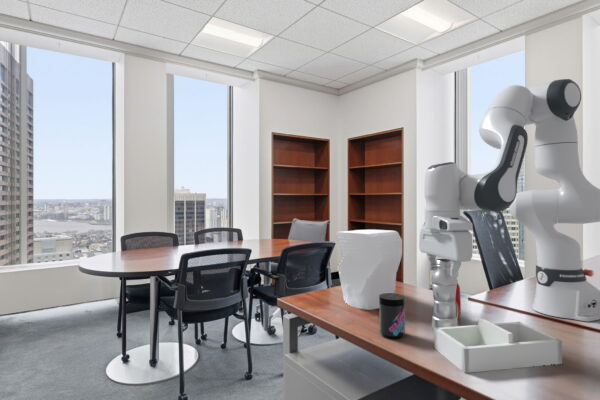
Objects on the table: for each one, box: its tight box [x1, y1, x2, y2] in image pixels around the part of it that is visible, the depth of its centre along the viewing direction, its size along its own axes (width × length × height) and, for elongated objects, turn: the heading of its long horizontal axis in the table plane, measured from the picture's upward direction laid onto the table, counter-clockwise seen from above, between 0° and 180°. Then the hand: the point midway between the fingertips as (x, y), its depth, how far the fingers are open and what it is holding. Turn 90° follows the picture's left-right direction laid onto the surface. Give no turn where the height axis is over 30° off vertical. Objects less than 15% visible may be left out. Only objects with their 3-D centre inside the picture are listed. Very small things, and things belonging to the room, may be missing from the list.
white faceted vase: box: [334, 229, 403, 311], centre depth 120 cm, size 21×27×26 cm
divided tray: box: [433, 317, 563, 374], centre depth 78 cm, size 23×12×7 cm, turn 98°
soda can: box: [455, 280, 462, 322], centre depth 103 cm, size 7×7×12 cm
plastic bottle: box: [430, 258, 459, 331], centre depth 92 cm, size 6×7×20 cm
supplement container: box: [378, 292, 406, 340], centre depth 92 cm, size 7×7×10 cm
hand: (443, 273), depth 92 cm, fingers open, 8 cm apart
